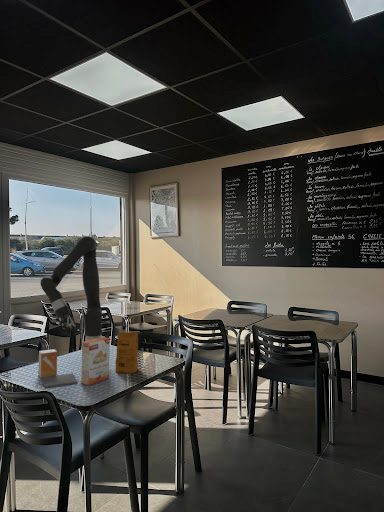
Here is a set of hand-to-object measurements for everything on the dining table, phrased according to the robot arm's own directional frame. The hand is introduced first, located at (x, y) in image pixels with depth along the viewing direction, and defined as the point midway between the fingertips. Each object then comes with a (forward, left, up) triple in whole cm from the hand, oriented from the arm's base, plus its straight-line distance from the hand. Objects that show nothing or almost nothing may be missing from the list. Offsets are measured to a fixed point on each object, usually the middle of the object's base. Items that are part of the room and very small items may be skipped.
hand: (72, 333), depth 203 cm
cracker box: (-8, +24, -20) cm, 32 cm away
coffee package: (-27, +15, -20) cm, 37 cm away
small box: (+13, +5, -20) cm, 25 cm away
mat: (+9, +17, -20) cm, 28 cm away
